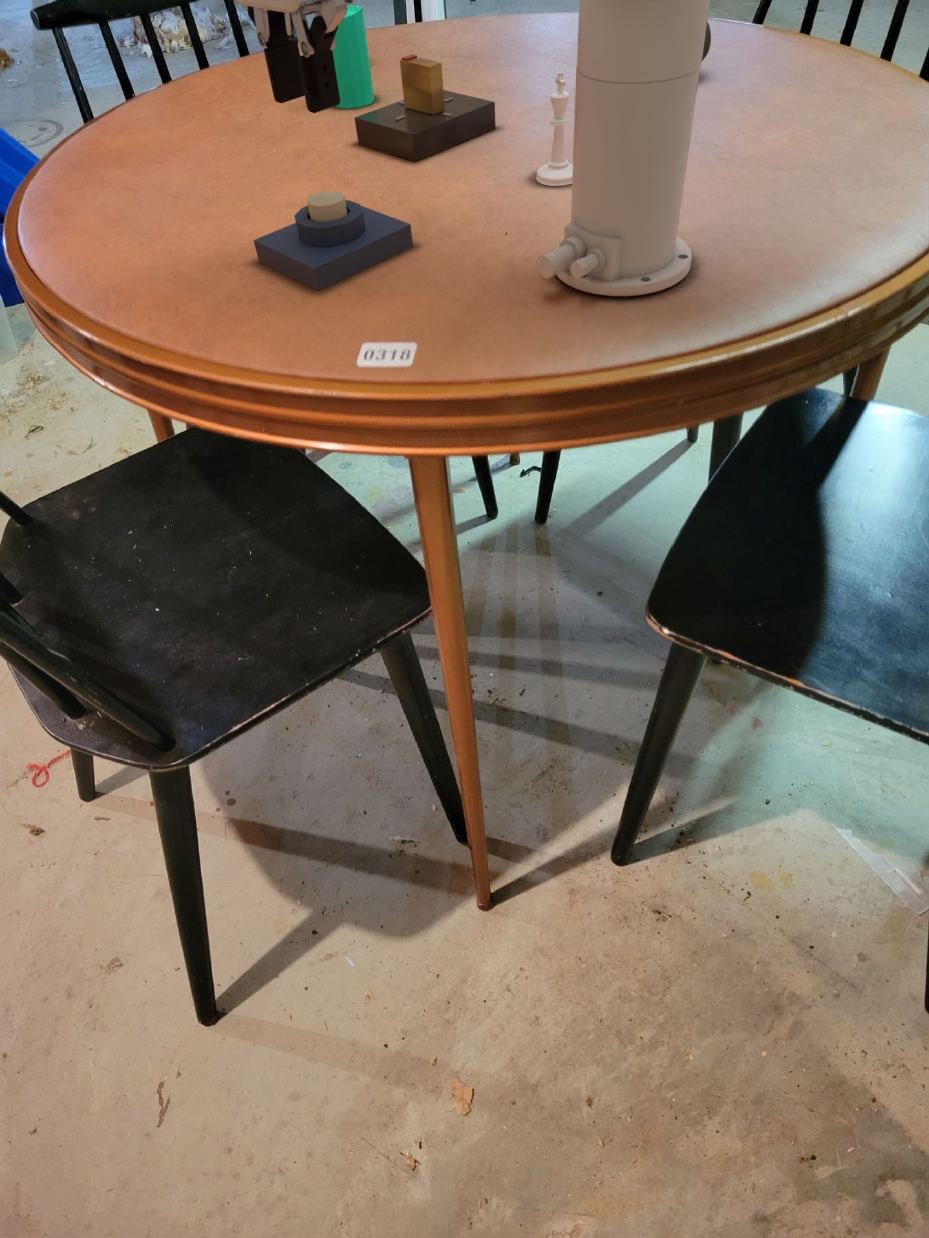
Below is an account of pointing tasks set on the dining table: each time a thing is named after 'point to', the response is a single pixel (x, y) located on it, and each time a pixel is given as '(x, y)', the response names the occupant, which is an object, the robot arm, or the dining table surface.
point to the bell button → (327, 206)
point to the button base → (333, 245)
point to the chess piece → (557, 142)
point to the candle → (353, 61)
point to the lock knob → (422, 84)
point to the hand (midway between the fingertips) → (307, 101)
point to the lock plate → (425, 126)
